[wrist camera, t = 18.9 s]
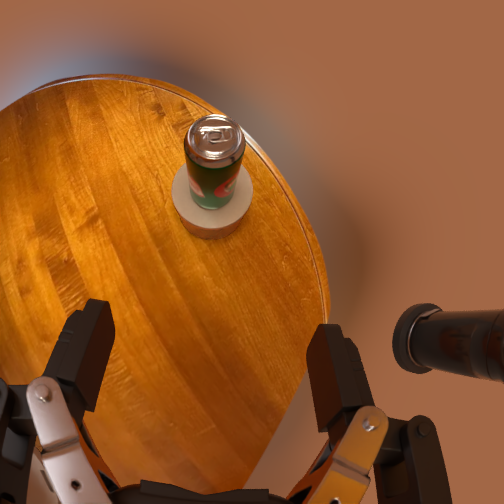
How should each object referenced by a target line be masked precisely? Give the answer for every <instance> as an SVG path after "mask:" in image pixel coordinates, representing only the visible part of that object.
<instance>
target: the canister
mask: <svg viewBox="0 0 504 504" xmlns="http://www.w3.org/2000/svg"><path fill="white" fill-rule="evenodd" d="M252 196H253V186H252V181H251V178H250V176H249V174H248V172H247V171H246V169H245V168H244V167H243V166H242V165H241V167H240V171H239V175H238V179H237V183H236V187H235V191H234V194H233V197H232V199H231V200H230V201H229V202H228V203H227V204H226V205H225V206H223V207H221V208H217V209H207V208H203V207H201V206H199V205H198V204H197V203H196V202H195V201H194V200H193V199H192V196H191V194H190V188H189V181H188V174H187V167H186V163H185V164H184V165H182V166H181V168H180V169H179V170H178V172H177V173H176V175H175V177H174V180H173V183H172V199H173V203H174V205H175V208H176V210H177V211H178V213H179V216H180V219H181V221H182V223H183V225H184V226H185V228H186V229H187V230H188V231H189V232H190V233H192V234H193V235H195V236H197V237H200V238H203V239H209V240H212V239H220V238H223V237H225V236H227V235H229V234H231V233H232V232H233V231H234V230H235V229H236V228H237V227H238V226H239V224H240V222H241V221H242V218H243V216H244V214H245V213H246V212H247V210H248V208H249V206H250V203H251V200H252Z"/></svg>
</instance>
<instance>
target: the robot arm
mask: <svg viewBox="0 0 504 504" xmlns="http://www.w3.org/2000/svg"><path fill="white" fill-rule="evenodd" d="M437 310H439V309H433V310H432V311H425V312H422V313H421V314H419V315H418V316H417V317H416V318H415V319H414V320H413V322H412V323H411V325H410V327H409V329H408V333H407V337H406V351H407V354H408V357H409V359H410V360H411V362H412V363H413V364H415V365H417V366H420V367H427V368H431V369H435V370H440V371H445V372H449V373H454V374H459V375H464V376H469V377H474V378H479V379H485V380H491V381H496V382H501V383H503V384H504V309H497V310H478V311H437ZM435 311H437V312H435ZM114 340H115V325H114V321H113V317H112V313H111V308H110V304H109V302H108V301H103V300H97V299H91V298H90V299H89V300H88V301H87V303H86V305H85V307H84V309H83V311H81V310H76V311H75V312H74V313H73V314H72V315H71V316H70V317H68V318H67V320H66V323H65V325H64V327H63V329H62V332H61V333H60V336H59V338H58V341H57V342H56V345H55V347H54V349H53V352H52V354H51V356H50V359H49V361H48V364H47V366H46V369H45V371H44V373H43V375H42V376H41V377H38V378H36V379H34V380H33V381H32V382H31V383H30V384H28V385H7V384H6V383H5V381H4V380H3V379H2V378H0V504H26V501H27V491H28V483H29V475H30V469H31V462H32V456H33V451H34V446H35V441H36V436H37V435H38V437H39V439H40V442H41V445H42V448H43V451H42V452H41V459H42V462H43V465H44V467H45V469H46V472H47V474H48V476H49V479H50V481H51V483H52V485H53V487H54V489H55V491H56V494H57V496H58V498H59V500H60V501H61V503H62V504H360V502H361V500H362V498H363V496H364V494H365V492H366V491H367V489H368V487H369V484H370V477H369V476H368V474H369V471H370V469H371V467H372V465H373V467H374V475H375V482H376V489H377V498H378V504H452V498H451V493H450V487H449V482H448V477H447V472H446V468H445V464H444V459H443V455H442V451H441V447H440V443H439V439H438V435H437V431H436V428H435V425H434V423H433V422H432V421H431V420H430V419H429V418H427V417H426V416H422V415H418V416H415V417H413V418H412V419H411V420H409V421H404V420H398V419H394V418H389V417H387V416H386V414H385V413H384V412H383V411H382V410H381V409H379V408H377V407H376V406H375V404H374V401H373V398H372V394H371V391H370V387H369V384H368V381H367V378H366V374H365V371H364V368H363V364H362V362H361V358H360V354H359V352H358V348H357V347H356V346H355V344H354V343H353V342H352V340H351V339H350V338H344V337H343V334H342V330H341V327H340V326H339V325H338V324H319V325H318V327H317V329H316V331H315V333H314V335H313V337H312V339H311V342H310V344H309V346H308V348H307V353H306V361H307V367H308V373H309V378H310V384H311V389H312V396H313V401H314V407H315V413H316V419H317V425H318V432H328V435H329V439H328V440H327V442H326V443H325V445H324V446H323V448H322V450H321V451H320V453H319V454H318V456H317V458H316V459H315V461H314V462H313V464H312V465H311V467H310V468H309V470H308V471H307V473H306V474H305V476H304V477H303V478H302V479H301V480H300V481H299V482H298V483H297V484H296V485H295V487H294V488H293V489H292V491H291V492H290V493H289V495H288V496H287V497H286V499H285V498H282V497H280V496H277V495H274V494H269V489H236V490H231V491H226V492H221V493H215V494H209V495H203V494H199V493H196V492H192V491H189V490H186V489H183V488H181V487H178V486H175V485H172V484H165V483H159V482H152V481H147V480H141V483H140V484H133V485H128V486H124V487H121V486H120V485H119V483H118V482H117V480H116V478H115V477H114V475H113V473H112V472H111V470H110V469H109V467H108V466H107V465H106V463H105V462H104V460H103V459H102V457H101V455H100V453H99V451H98V449H97V447H96V445H95V443H94V441H93V439H92V437H91V435H90V433H89V431H88V429H87V427H86V424H85V422H84V420H83V416H84V412H85V410H86V411H90V412H94V410H95V406H96V402H97V398H98V394H99V391H100V387H101V383H102V380H103V376H104V373H105V370H106V366H107V363H108V360H109V356H110V353H111V350H112V347H113V344H114Z"/></svg>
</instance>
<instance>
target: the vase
mask: <svg viewBox="0 0 504 504" xmlns="http://www.w3.org/2000/svg"><path fill="white" fill-rule="evenodd" d="M26 504H61V501H60V500H59V498H58V496H57V494H56V491H55V489H54V487H53V485H52V483H51V481H50V479H49V476H48V474H47V472H46V469H45V467H44V465H43V462H42V459H41V454H40V452H39V451H38V450H37V448H36V447H35V446H34V451H33V456H32V462H31V469H30V475H29V483H28V491H27V501H26Z"/></svg>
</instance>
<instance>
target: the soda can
mask: <svg viewBox="0 0 504 504" xmlns="http://www.w3.org/2000/svg"><path fill="white" fill-rule="evenodd" d="M245 146H246V141H245V137H244V134H243V132H242V131H241V128H240V127H239V125H238V124H237V123H236V122H235V121H234V120H233V119H231V118H229V117H227V116H224V115H220V114H211V115H206V116H203V117H201V118H199V119H198V120H196V121H195V122H194V123H193V124H192V126H191V127H190V129H189V130H188V132H187V133H186V135H185V139H184V151H185V159H186V167H187V174H188V181H189V188H190V194H191V196H192V199H193V200H194V201H195V202H196V203H197V204H198V205H199V206H201V207H203V208H207V209H217V208H221V207H223V206H225V205H226V204H227V203H228V202H229V201H230V200H231V199H232V197H233V194H234V191H235V187H236V183H237V179H238V175H239V171H240V167H241V163H242V159H243V155H244V151H245Z"/></svg>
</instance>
